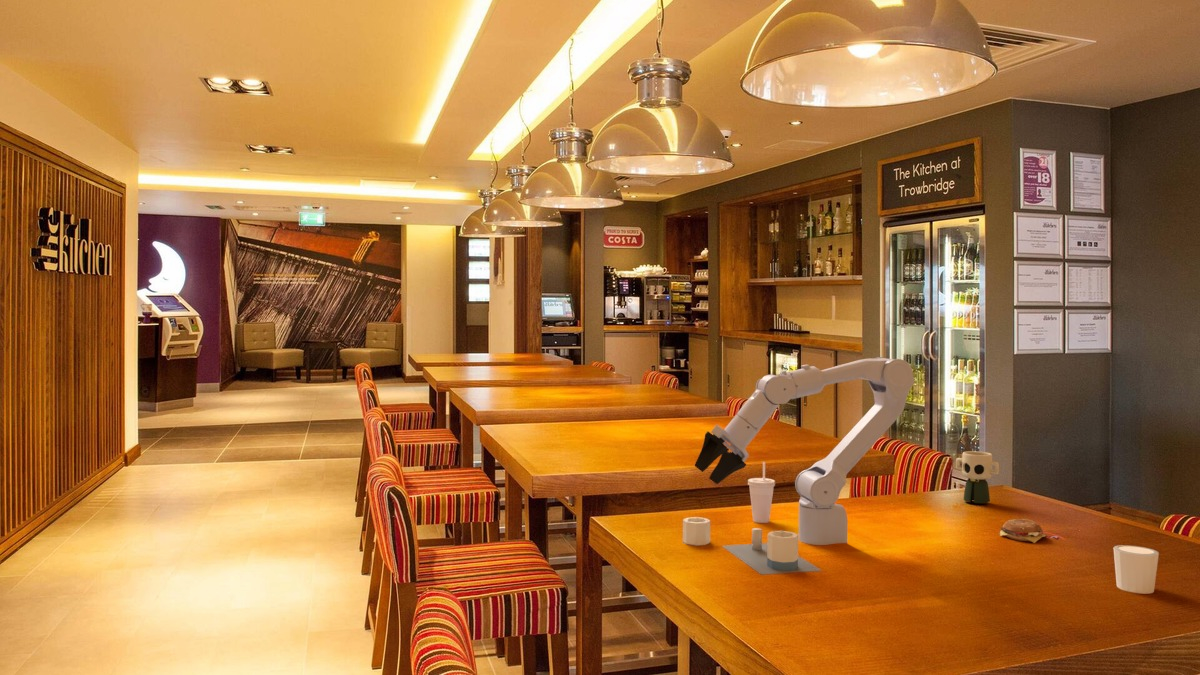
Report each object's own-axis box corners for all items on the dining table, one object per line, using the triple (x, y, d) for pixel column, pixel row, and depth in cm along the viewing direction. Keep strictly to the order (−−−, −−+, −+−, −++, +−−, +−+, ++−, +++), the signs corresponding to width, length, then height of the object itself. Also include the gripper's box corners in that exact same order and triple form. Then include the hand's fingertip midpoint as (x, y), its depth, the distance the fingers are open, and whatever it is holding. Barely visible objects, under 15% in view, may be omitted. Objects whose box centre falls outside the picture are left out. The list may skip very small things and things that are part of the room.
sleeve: (704, 545, 181) (704, 516, 181) (712, 551, 176) (712, 522, 176) (680, 546, 180) (680, 517, 180) (688, 553, 175) (688, 523, 175)
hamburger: (1051, 551, 179) (1052, 523, 179) (984, 538, 189) (985, 511, 189) (1077, 539, 188) (1078, 512, 188) (1012, 527, 199) (1012, 502, 198)
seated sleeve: (789, 561, 164) (789, 530, 164) (801, 569, 159) (801, 537, 159) (763, 563, 163) (764, 531, 162) (775, 571, 158) (775, 538, 157)
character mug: (950, 501, 224) (950, 452, 224) (960, 497, 230) (961, 449, 229) (993, 508, 217) (994, 457, 217) (1003, 504, 222) (1004, 454, 222)
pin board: (776, 549, 178) (776, 523, 177) (822, 578, 158) (822, 548, 158) (721, 553, 175) (721, 526, 175) (761, 582, 155) (761, 552, 155)
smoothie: (775, 525, 199) (775, 464, 198) (746, 523, 200) (747, 463, 200) (775, 518, 205) (775, 460, 205) (747, 517, 206) (748, 459, 206)
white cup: (1158, 597, 148) (1159, 556, 148) (1112, 590, 152) (1112, 551, 152) (1157, 586, 154) (1158, 547, 154) (1113, 580, 158) (1113, 542, 158)
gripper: (745, 426, 185) (706, 476, 184) (719, 399, 174) (678, 452, 173) (769, 444, 180) (729, 494, 180) (744, 417, 170) (701, 471, 169)
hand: (705, 475), depth 176 cm, fingers open, 7 cm apart
